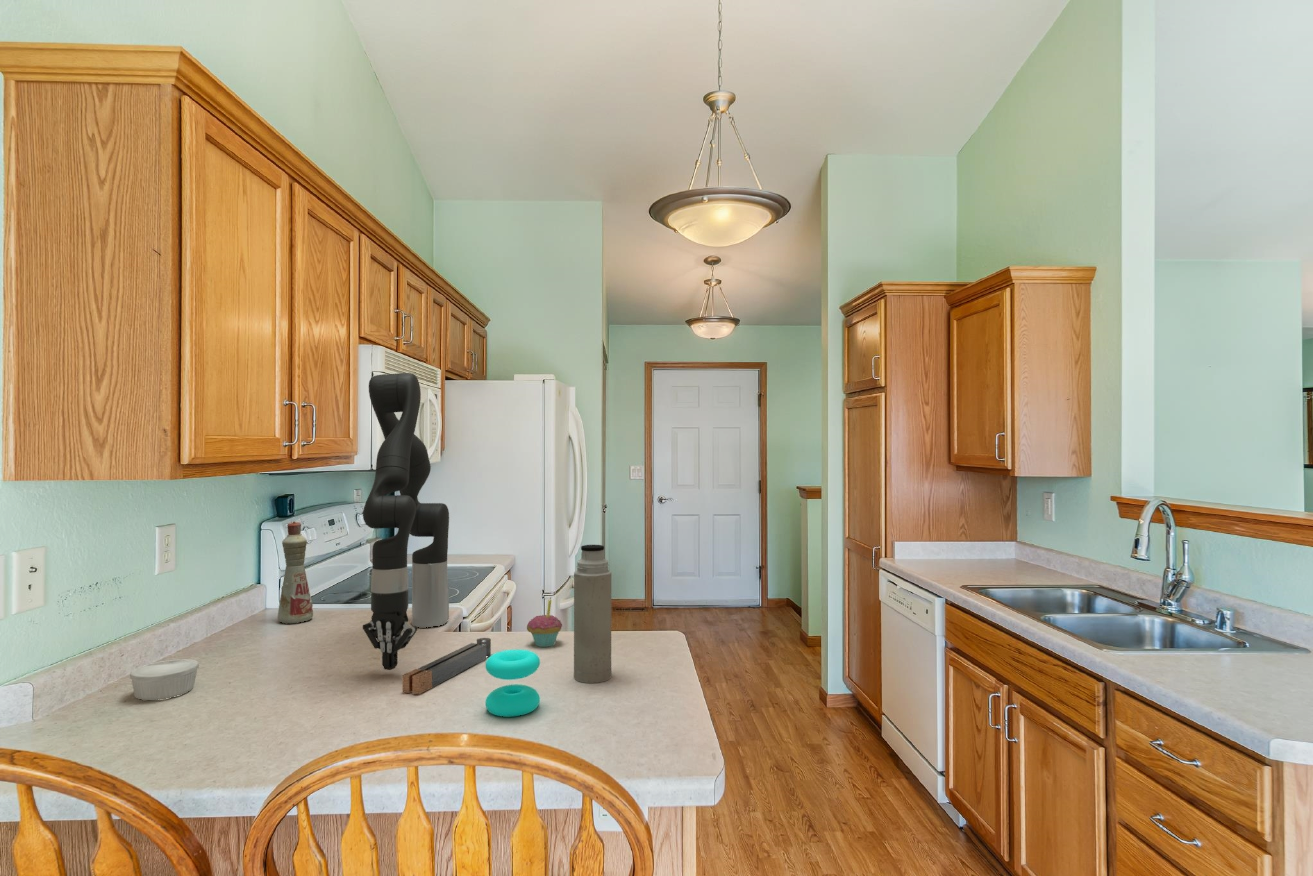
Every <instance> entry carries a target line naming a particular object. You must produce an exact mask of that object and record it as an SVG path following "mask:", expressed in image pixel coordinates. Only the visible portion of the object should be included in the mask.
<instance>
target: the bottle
mask: <svg viewBox="0 0 1313 876" xmlns="http://www.w3.org/2000/svg"><path fill="white" fill-rule="evenodd" d="M286 526H287V536H286V537H284V539H283V540H282V542H281V543H282V548H283V553H284V559H285V570H284V574H283V575H284V576H283V581H282V585H281V592H280V597H279V604H278V610H277V611H278V612H277V620H278V621H279V623H280V622H282V623H281V624H284V623H296V622H301V623H305V622H304V621H306V622H308V621H310V620H311V619H312V618H313V617H314V610H313V606H314V604H313V601H312V597H311V593H310V589H309V588H310V587H309V583H308V579H307V578H308V577H307V572H306V569H305V557H306V551H307V542H308V539H307V538H306V537H305V536H304V535H302V534H301V533H302V523H301V522H296V520H295V521H293V522H290V523H287V525H286ZM296 624H297V623H296Z"/></svg>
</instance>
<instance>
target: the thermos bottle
mask: <svg viewBox="0 0 1313 876" xmlns="http://www.w3.org/2000/svg"><path fill="white" fill-rule="evenodd" d="M580 550H581V553H580V555H581V557H580V559H579V560H578V561H577V563H576V569H577V570H575V571H574V572H573V679H574V680H575V681H577V682H580V683H586V684H596V683H597V684H598V683H602V682H606V681H608V680H610V679H611V678H612V571H611V570H609V566H610V565H609V561H608V560H607V559H605V552H604V550H605V546H604V545H602V544H584V545H582V546H580Z"/></svg>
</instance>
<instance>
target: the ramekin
mask: <svg viewBox="0 0 1313 876" xmlns="http://www.w3.org/2000/svg"><path fill="white" fill-rule="evenodd" d="M199 666H200V663H199V661H197V660H195V659H189V658H187V659H183V658H181V659H170V660H162V661H156V662H151V663H147V664H144V665H141V666H138V667H135V668H133V669H132V670H131V671H130V673H129V679H131V685H132V689H133V694H134V697H135V698H136V699H137V698H138V699H137V700H139V699H142V700H158V699H166V698H170V697H174V696H177V695H181V694H184V693H186V692H188V691H189V692H191V691H192V689H193V688H194V686H195V681H196V676H197V673H198V669H199ZM189 692H188V693H189ZM186 694H187V693H186ZM184 695H185V694H184ZM181 696H182V695H181ZM142 700H141V701H142ZM166 700H167V699H166Z"/></svg>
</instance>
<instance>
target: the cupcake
mask: <svg viewBox="0 0 1313 876" xmlns="http://www.w3.org/2000/svg"><path fill="white" fill-rule="evenodd" d="M551 605H552V596H550V598H549V599H548V603H547V612H546V614H545V615H543V614H541V615H536V616H534V617H533V618H532V619H530V620H529V621H528V623H527V625H526V631H527V632H529V633H531V635H532V638H533V641H534V645H535V646H536V647H539V648H546V647H548V646H549V647H553V646H554V645H555V644H556V641H557V637H558V634H559V632H560V631H561V630H562V627H563V624H562V622H561V620H560V619H559V618H558V617H556V616H554V615H552V614H551V607H552V606H551Z"/></svg>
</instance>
